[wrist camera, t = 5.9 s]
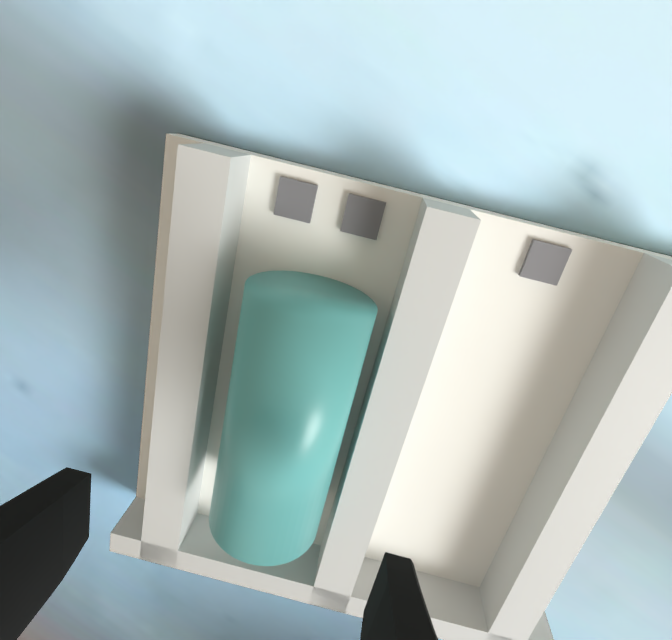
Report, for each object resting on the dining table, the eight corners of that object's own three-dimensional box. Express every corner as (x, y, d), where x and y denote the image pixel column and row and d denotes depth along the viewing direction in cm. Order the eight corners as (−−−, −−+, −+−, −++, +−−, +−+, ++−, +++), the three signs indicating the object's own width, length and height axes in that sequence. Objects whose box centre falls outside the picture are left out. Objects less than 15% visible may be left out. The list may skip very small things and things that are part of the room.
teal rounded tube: (319, 489, 19) (314, 575, 16) (223, 472, 19) (194, 555, 15) (373, 287, 16) (382, 335, 12) (256, 261, 16) (231, 304, 12)
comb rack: (527, 598, 21) (547, 667, 19) (145, 497, 22) (109, 551, 19) (711, 266, 15) (781, 295, 13) (179, 133, 16) (133, 133, 13)
